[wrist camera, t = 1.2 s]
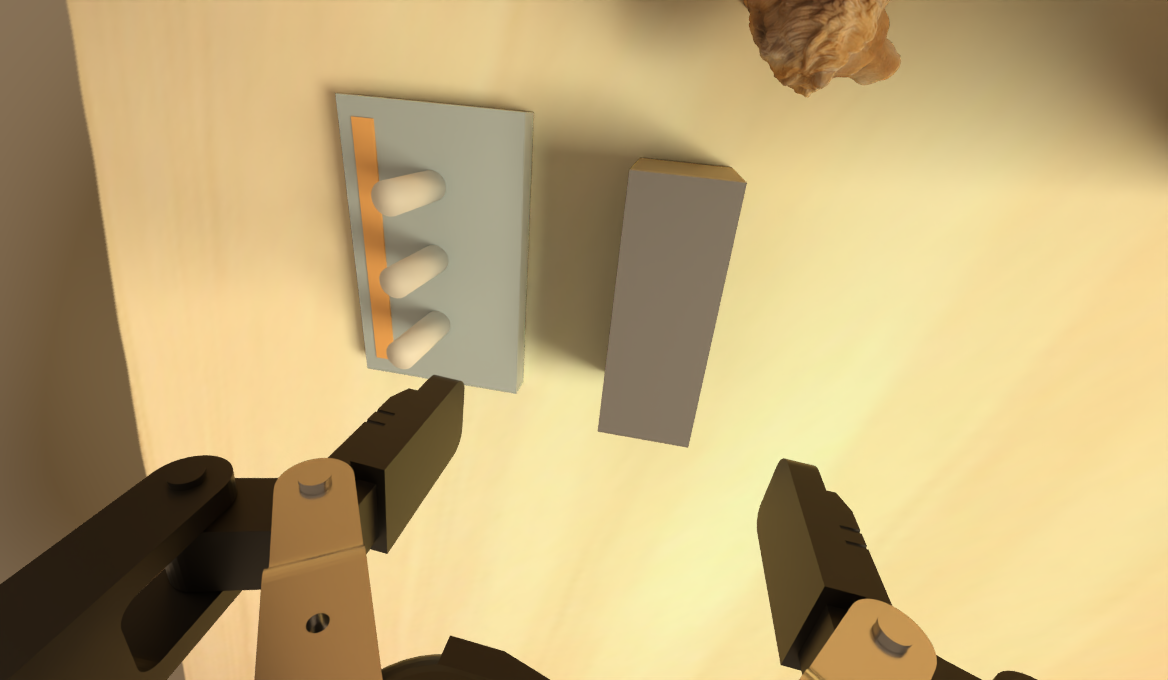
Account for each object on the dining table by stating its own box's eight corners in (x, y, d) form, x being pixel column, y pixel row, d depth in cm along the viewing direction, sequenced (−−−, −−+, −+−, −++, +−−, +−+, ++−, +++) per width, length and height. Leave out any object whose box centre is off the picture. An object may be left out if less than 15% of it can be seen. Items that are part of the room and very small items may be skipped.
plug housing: (732, 167, 25) (746, 182, 19) (686, 387, 30) (688, 447, 25) (640, 157, 25) (629, 169, 20) (612, 374, 31) (597, 431, 25)
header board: (533, 112, 25) (494, 112, 20) (523, 382, 32) (492, 435, 27) (352, 94, 26) (270, 89, 21) (380, 357, 33) (323, 404, 28)
